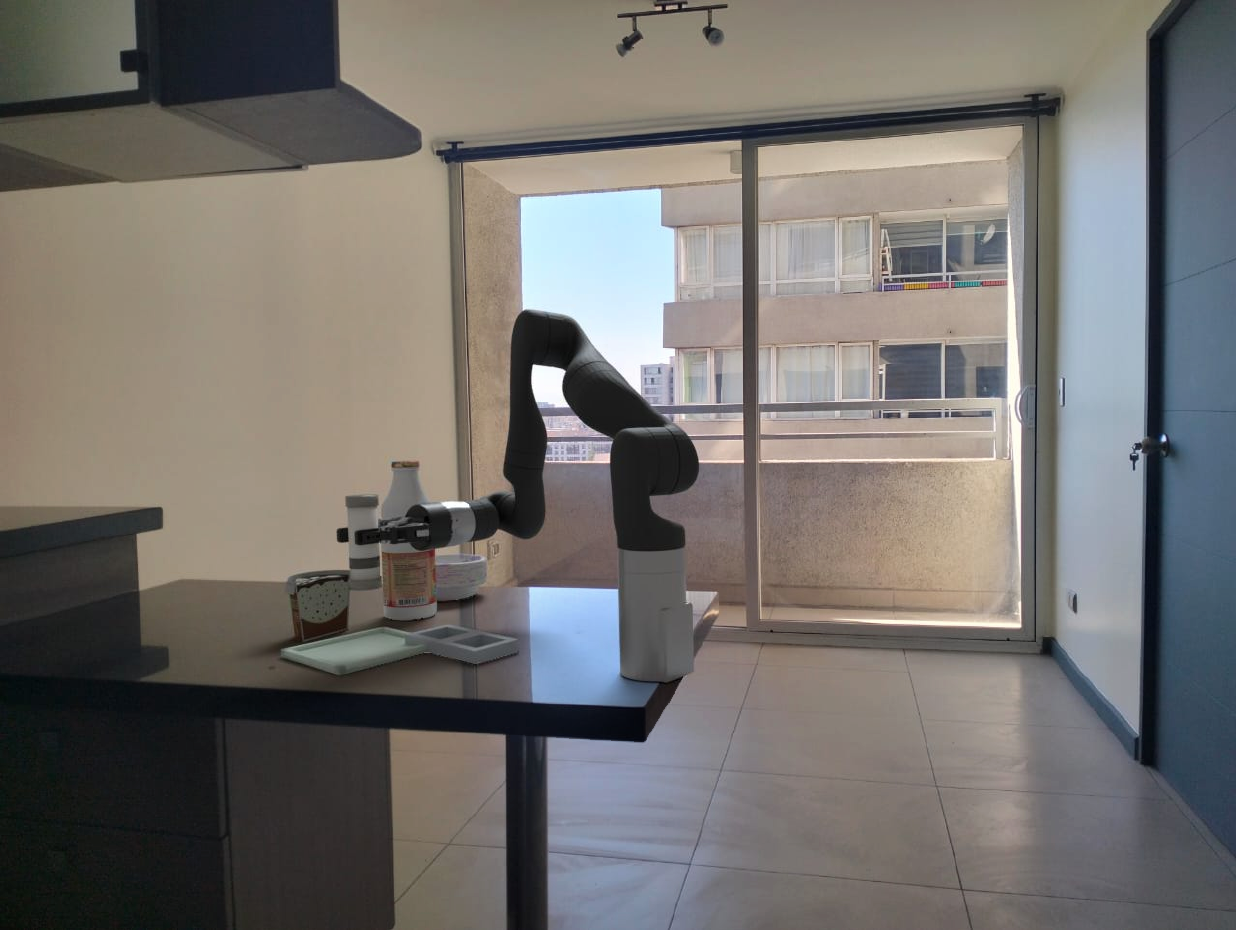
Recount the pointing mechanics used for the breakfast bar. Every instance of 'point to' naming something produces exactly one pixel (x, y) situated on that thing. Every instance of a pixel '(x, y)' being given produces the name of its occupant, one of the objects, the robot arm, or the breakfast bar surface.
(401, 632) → the tray
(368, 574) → the grey-capped white cylinder
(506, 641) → the fuse block
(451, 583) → the paper bowls
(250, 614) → the breakfast bar surface
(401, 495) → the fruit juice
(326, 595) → the food container
